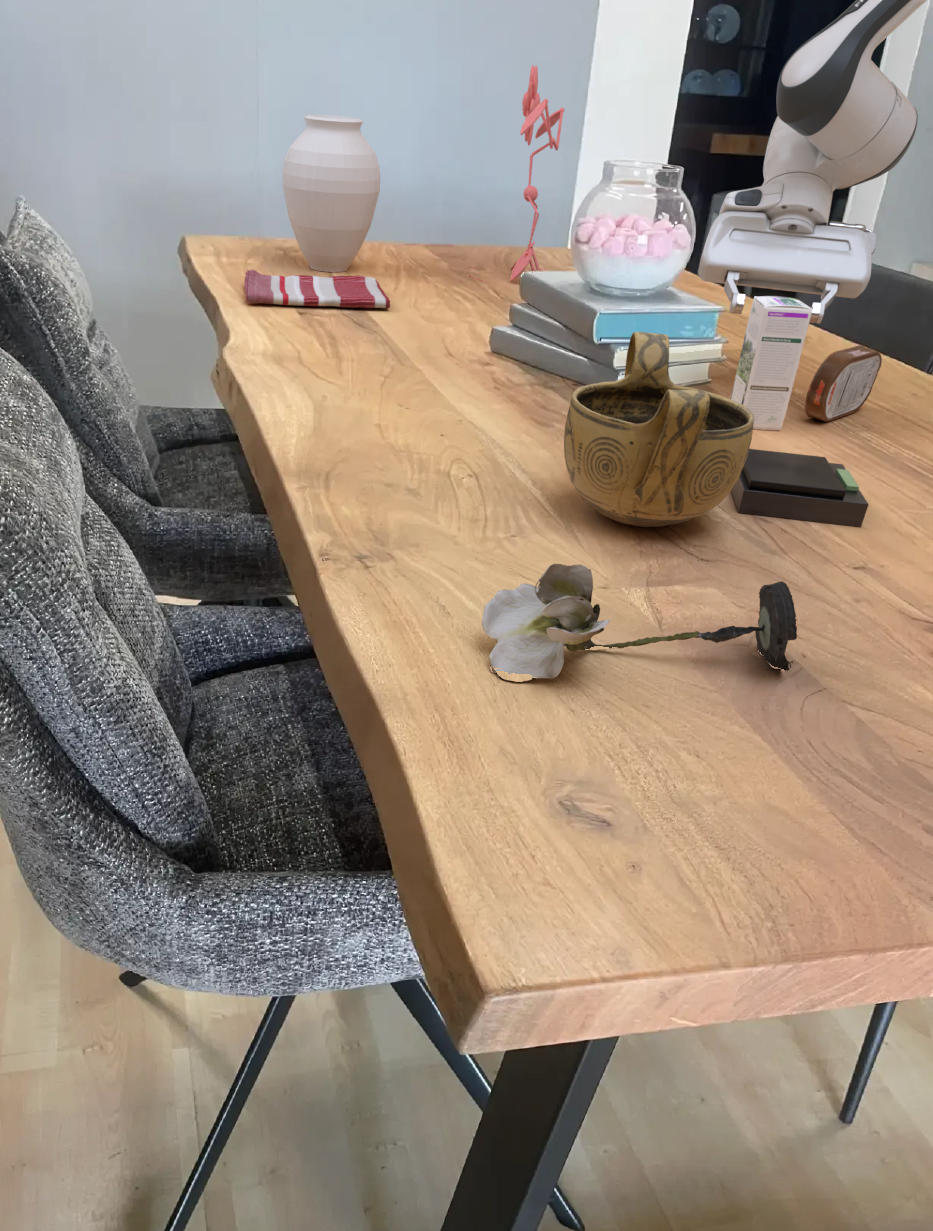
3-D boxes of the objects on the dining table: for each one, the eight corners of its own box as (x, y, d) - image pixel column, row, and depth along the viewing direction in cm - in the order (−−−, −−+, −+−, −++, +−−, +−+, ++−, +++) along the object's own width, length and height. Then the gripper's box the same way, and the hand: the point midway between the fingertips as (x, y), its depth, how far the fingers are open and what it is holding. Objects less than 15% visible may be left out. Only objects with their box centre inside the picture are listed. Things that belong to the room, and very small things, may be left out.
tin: (848, 403, 143) (868, 339, 138) (871, 409, 141) (891, 344, 136) (796, 422, 134) (815, 354, 129) (819, 429, 132) (839, 360, 127)
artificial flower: (797, 712, 76) (833, 609, 68) (484, 720, 77) (485, 620, 70) (770, 626, 82) (800, 523, 74) (479, 635, 83) (480, 534, 75)
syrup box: (782, 431, 130) (817, 307, 122) (735, 427, 130) (766, 303, 122) (769, 417, 135) (801, 297, 127) (723, 414, 134) (752, 293, 126)
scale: (836, 485, 114) (845, 456, 112) (861, 527, 104) (871, 496, 102) (723, 472, 115) (731, 444, 113) (738, 512, 105) (746, 482, 103)
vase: (280, 257, 206) (282, 109, 192) (370, 261, 208) (378, 116, 195) (282, 274, 191) (284, 116, 178) (379, 279, 194) (388, 123, 180)
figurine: (546, 269, 215) (575, 67, 195) (540, 293, 193) (571, 68, 174) (472, 261, 216) (493, 60, 197) (457, 284, 195) (479, 61, 176)
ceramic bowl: (543, 469, 112) (566, 322, 104) (702, 482, 112) (737, 336, 104) (563, 555, 93) (592, 383, 85) (754, 570, 93) (801, 400, 85)
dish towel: (243, 284, 182) (243, 267, 181) (377, 290, 186) (378, 274, 184) (245, 306, 168) (245, 288, 167) (390, 311, 172) (391, 294, 170)
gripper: (869, 243, 133) (855, 340, 130) (705, 226, 136) (688, 320, 134) (886, 208, 127) (872, 310, 124) (714, 191, 130) (696, 289, 127)
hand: (775, 315), depth 129 cm, fingers open, 8 cm apart
